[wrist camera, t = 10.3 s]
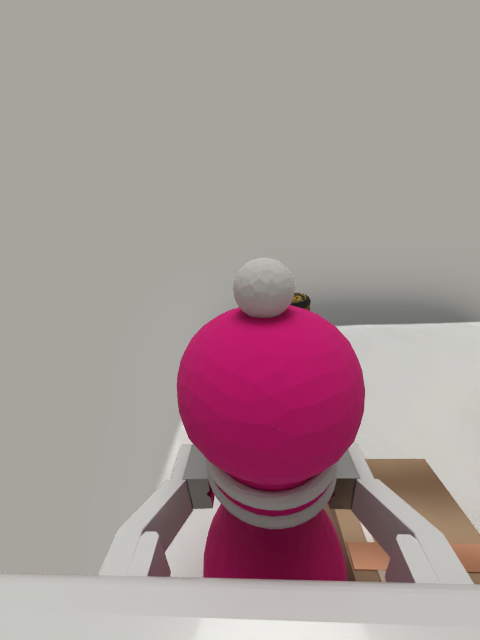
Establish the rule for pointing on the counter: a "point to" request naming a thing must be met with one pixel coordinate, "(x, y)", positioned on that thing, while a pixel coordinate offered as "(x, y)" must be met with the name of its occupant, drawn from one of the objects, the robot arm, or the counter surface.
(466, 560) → the board
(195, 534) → the counter surface
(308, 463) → the pepper mill
